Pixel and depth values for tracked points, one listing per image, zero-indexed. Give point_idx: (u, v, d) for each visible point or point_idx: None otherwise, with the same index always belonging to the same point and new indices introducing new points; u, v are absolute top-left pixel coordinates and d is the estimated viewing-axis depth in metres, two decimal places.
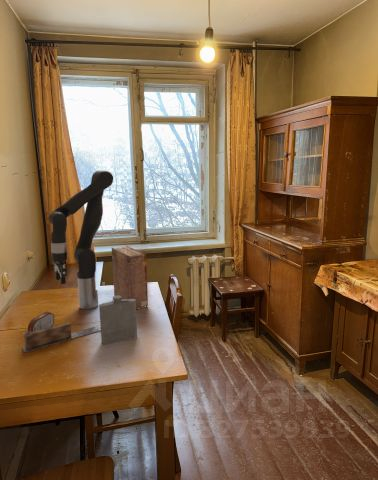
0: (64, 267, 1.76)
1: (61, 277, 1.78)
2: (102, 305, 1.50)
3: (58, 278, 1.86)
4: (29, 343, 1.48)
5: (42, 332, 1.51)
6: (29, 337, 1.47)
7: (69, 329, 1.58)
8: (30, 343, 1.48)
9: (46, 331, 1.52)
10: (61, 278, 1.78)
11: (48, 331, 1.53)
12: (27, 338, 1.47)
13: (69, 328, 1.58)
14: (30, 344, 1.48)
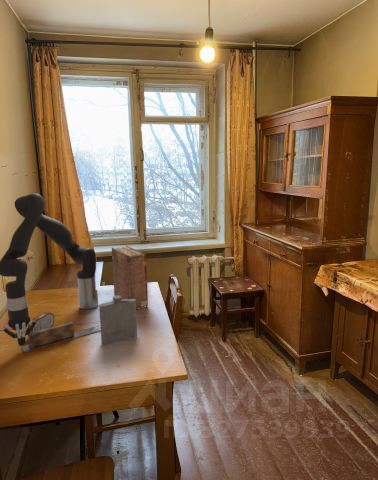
0: None
1: (23, 337, 1.47)
2: (102, 305, 1.50)
3: None
4: (32, 342, 1.48)
5: (45, 331, 1.52)
6: (32, 336, 1.48)
7: (72, 328, 1.59)
8: (33, 342, 1.49)
9: (49, 330, 1.53)
10: (23, 338, 1.47)
11: (51, 330, 1.53)
12: (30, 337, 1.48)
13: (72, 327, 1.59)
14: (34, 343, 1.49)
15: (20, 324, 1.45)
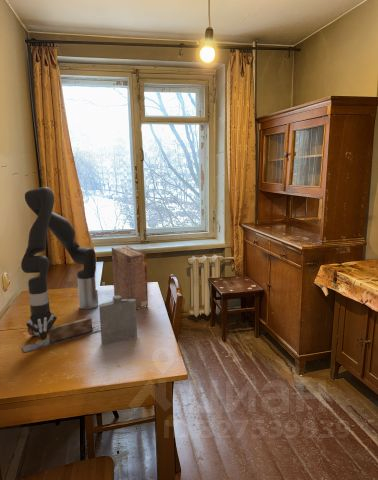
0: None
1: (44, 332, 1.52)
2: (102, 305, 1.50)
3: None
4: (53, 336, 1.53)
5: (65, 326, 1.57)
6: (53, 331, 1.53)
7: (90, 323, 1.63)
8: (54, 336, 1.53)
9: (69, 325, 1.58)
10: (44, 333, 1.52)
11: (71, 325, 1.58)
12: (51, 332, 1.52)
13: (90, 322, 1.63)
14: (54, 337, 1.54)
15: (42, 319, 1.50)
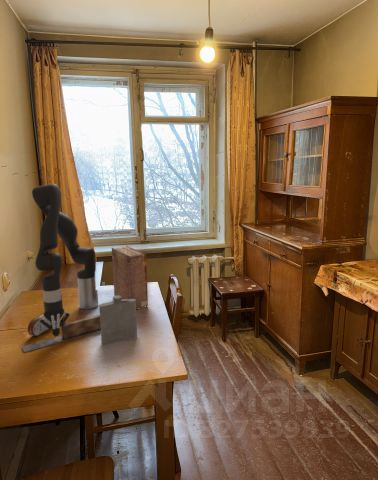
0: None
1: (57, 328, 1.55)
2: (102, 305, 1.50)
3: None
4: (66, 333, 1.56)
5: (77, 323, 1.60)
6: (66, 327, 1.56)
7: None
8: (67, 333, 1.57)
9: (81, 322, 1.61)
10: (57, 329, 1.55)
11: (83, 322, 1.61)
12: (64, 328, 1.55)
13: None
14: (67, 334, 1.57)
15: (55, 315, 1.53)
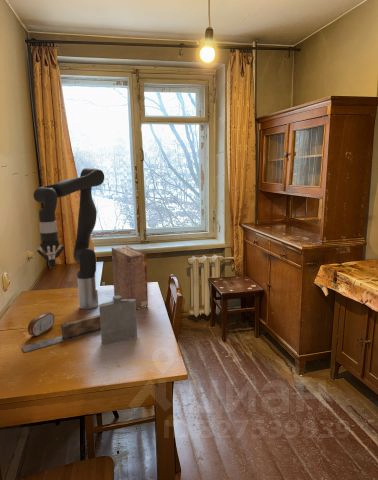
0: None
1: (53, 259, 1.67)
2: (102, 305, 1.50)
3: None
4: (66, 333, 1.56)
5: (78, 323, 1.60)
6: (66, 327, 1.56)
7: None
8: (67, 333, 1.57)
9: (81, 322, 1.61)
10: (53, 260, 1.67)
11: (83, 322, 1.61)
12: (64, 328, 1.56)
13: None
14: (67, 334, 1.57)
15: (51, 247, 1.65)
